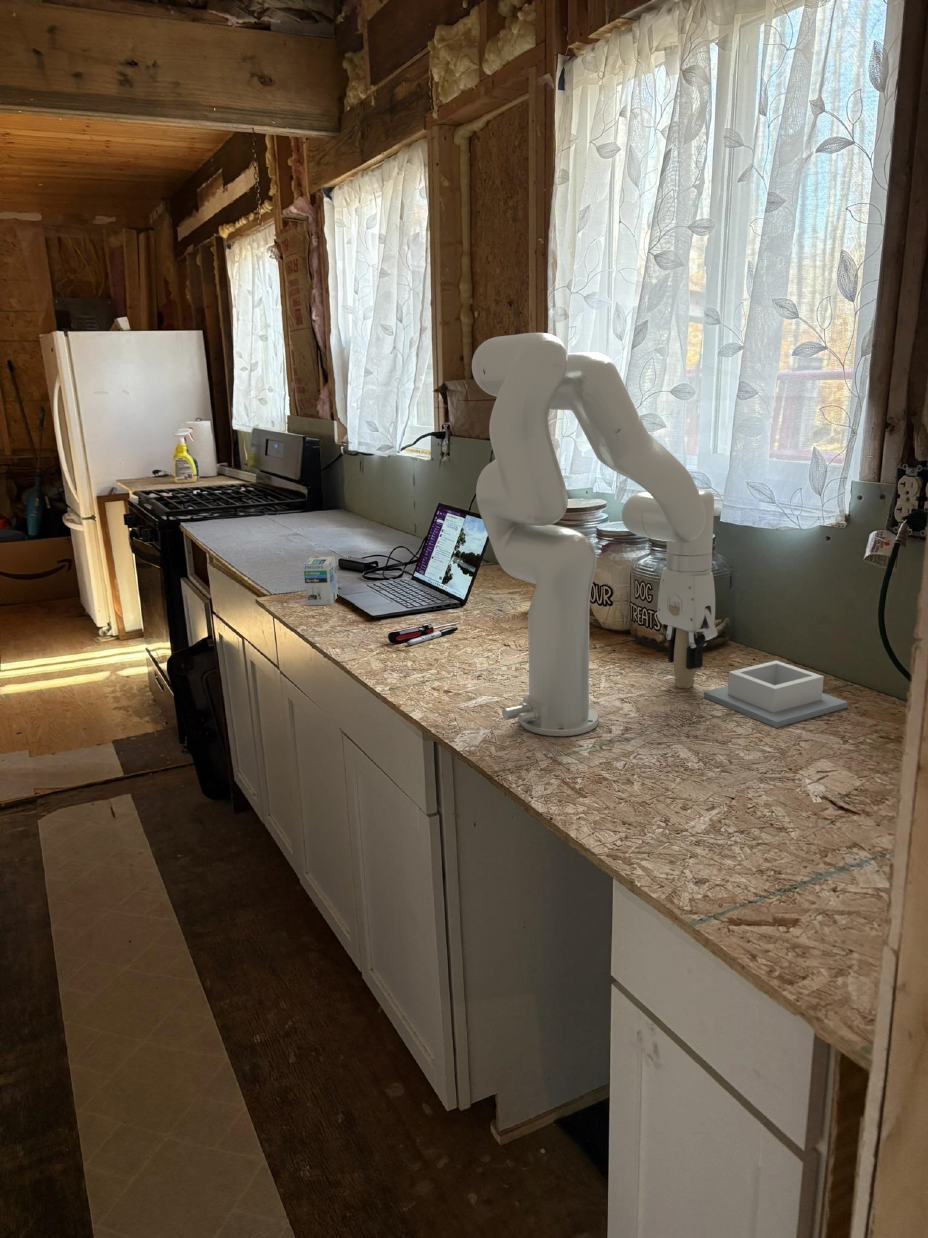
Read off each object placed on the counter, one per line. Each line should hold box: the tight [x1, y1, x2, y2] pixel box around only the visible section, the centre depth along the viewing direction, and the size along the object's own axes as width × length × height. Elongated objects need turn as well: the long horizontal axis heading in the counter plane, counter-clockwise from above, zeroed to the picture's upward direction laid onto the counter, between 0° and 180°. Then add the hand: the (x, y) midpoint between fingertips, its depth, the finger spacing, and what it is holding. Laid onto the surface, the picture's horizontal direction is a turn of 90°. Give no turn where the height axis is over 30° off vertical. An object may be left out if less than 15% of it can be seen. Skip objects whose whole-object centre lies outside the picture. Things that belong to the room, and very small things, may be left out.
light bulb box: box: [303, 555, 339, 606], centre depth 223 cm, size 11×7×11 cm, turn 179°
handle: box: [669, 605, 698, 690], centre depth 153 cm, size 5×6×15 cm
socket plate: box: [703, 660, 849, 729], centre depth 145 cm, size 16×16×5 cm
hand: (685, 663), depth 153 cm, fingers closed on handle, 3 cm apart
